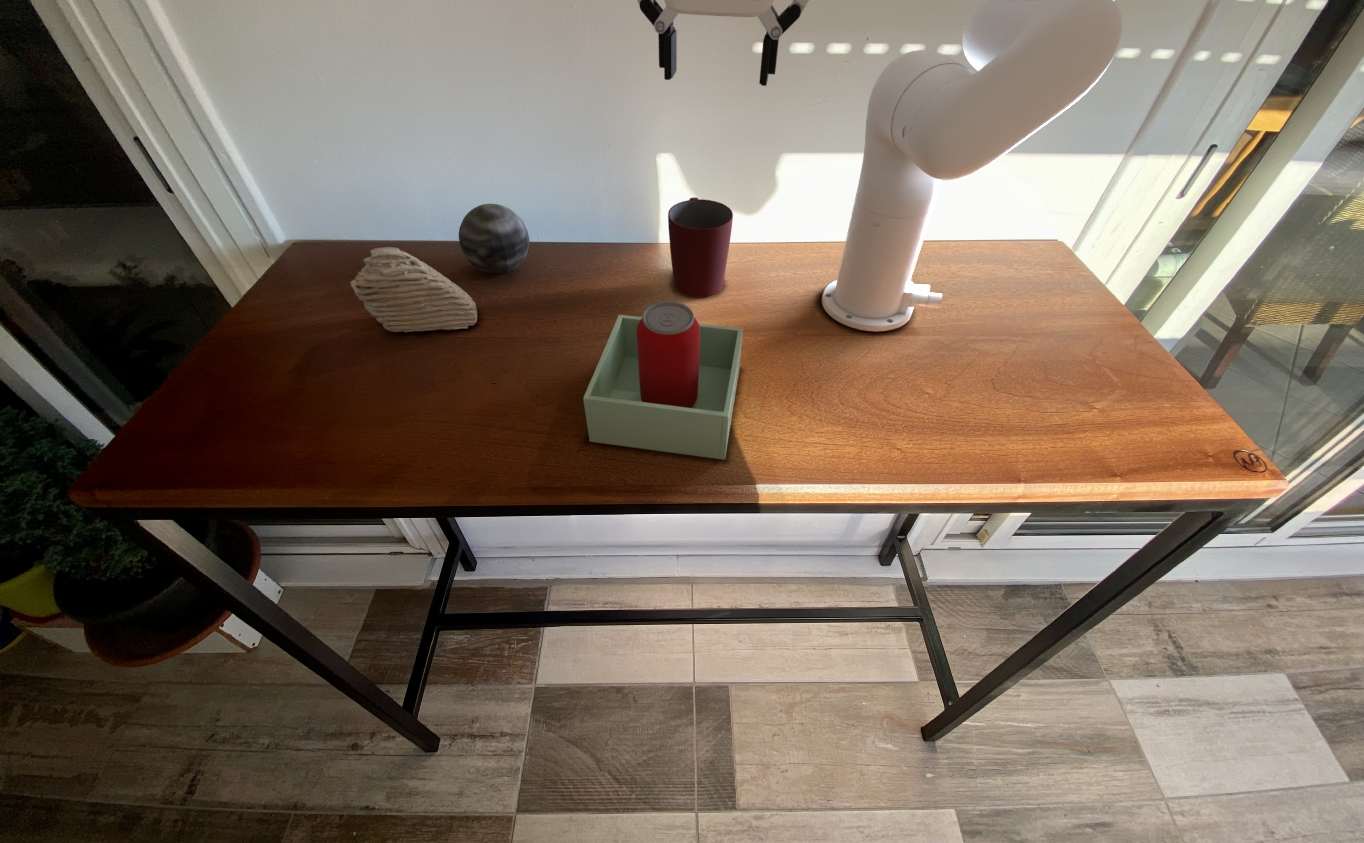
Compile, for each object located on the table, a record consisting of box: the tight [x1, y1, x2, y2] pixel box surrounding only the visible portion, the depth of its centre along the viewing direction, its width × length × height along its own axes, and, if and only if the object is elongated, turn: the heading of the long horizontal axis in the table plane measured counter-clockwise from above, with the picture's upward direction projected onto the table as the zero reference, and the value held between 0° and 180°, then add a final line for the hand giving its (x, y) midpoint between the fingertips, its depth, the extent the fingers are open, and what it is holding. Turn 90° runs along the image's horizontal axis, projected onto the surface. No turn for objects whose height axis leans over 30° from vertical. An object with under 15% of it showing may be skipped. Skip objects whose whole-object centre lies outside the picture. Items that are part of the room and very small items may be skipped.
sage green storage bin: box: [582, 314, 744, 461], centre depth 68 cm, size 15×15×7 cm
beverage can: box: [637, 301, 700, 408], centre depth 66 cm, size 7×7×12 cm
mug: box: [667, 197, 734, 298], centre depth 86 cm, size 12×9×11 cm
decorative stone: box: [458, 203, 530, 275], centre depth 88 cm, size 10×10×10 cm
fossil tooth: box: [349, 246, 478, 333], centre depth 78 cm, size 12×6×15 cm
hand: (716, 79), depth 61 cm, fingers open, 9 cm apart
